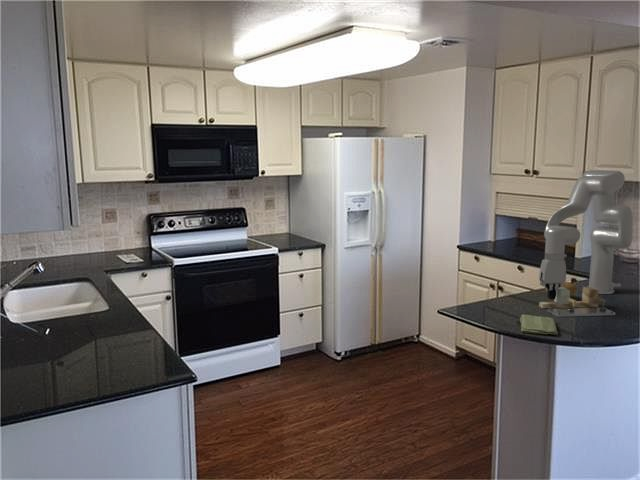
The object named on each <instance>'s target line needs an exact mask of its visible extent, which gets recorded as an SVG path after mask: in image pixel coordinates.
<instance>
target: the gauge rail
mask: <svg viewBox="0 0 640 480" xmlns="http://www.w3.org/2000/svg"><path fill="white" fill-rule="evenodd" d="M599 301H600V302H601V307H605V304H606V299H605V298H602V297H600V296H599V294H598V289H596V288H593V287H586V286H582V293H581V300H578V301H577V300H576V303H575V307H573V303H572V302H570V301H569V304H559V303H557V302H555V301H540V302H538V307H539V308H540V307H541V308H540V309H542V308H548V309H566V308H599Z"/></svg>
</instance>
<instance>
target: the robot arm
mask: <svg viewBox="0 0 640 480" xmlns="http://www.w3.org/2000/svg"><path fill="white" fill-rule="evenodd" d="M625 177H626V176H625V174H624V173H623V172H622V171H620V170H607V169H606V170H605V169H604V170H603V169H592V170H591V169H590V170H587V171H585V172H583V174H582V175H581V176H579V177H578V178H577V180H575V183H574V186H573V188H572V191H571V193H570V195H569V198H568V200H567V202H566V203H565V204H564V205H562V206H561V207H560V208H558V209H557V210H555V212H554V213H551V216H550V217H549V218H548V221H547V223H546V225H545V229H544V231H543V236H544V239H545V245H544V246H545V247H544V259H542V260H541V263H540V268H539V274H538V280H539V285H540V286H542V287H544V288H545V287H546V288H547V289H548V292H547V295H546V296H547V298H548V299H549V300H551V301H554V300H555V297H556V291H557V290H558V288H559V287H560V286H563V285H565V282H567V266H566V265H567V264H566V260H565V258H567V254H566V253H565V250H566V249H565V247H566V245H574V244H577V243H578V242H579V240H580V239H581V232H580V230H579V229H578V228H576V227H574V226H566V225H560V224H561V223H562V222H563V221H565V220H567V219H569V218H572V217H576V216H578V215H582V214H584V213H586V212H587V210H588V208H589V206H590V203H591V201H592V199H593V220H594V222H596V223H597V224H599V225H598V226H595V227H593V228H592V230H591V231H590V236H589V237H590V243H591V244H590V245H591V246H590V248H591V255H590V267H589V279H588V280H589V281H588V285H587V286H585V287H593V288H596V289H598V295H612V294H614V293H615V288H621V287H622V285H621V283H615V282H613V268H614V258H615V257H614V253H613V250H612V249H611V248H616V249H628V248H630V247H631V245H632V241H633V225H634V224H633V221H634V220H633V216H634V215H633V212H632V211H633V210H632V209H631V207H629V206H628V205H625V204H616V203H615V192H617V191H619V190H620V189H622V188H623V185H624V184H625V179H626V178H625ZM601 224H602V225H601ZM605 225H606V226H605ZM607 225H609V226H607ZM614 226H615V227H614ZM552 284H553V285H552Z"/></svg>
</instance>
